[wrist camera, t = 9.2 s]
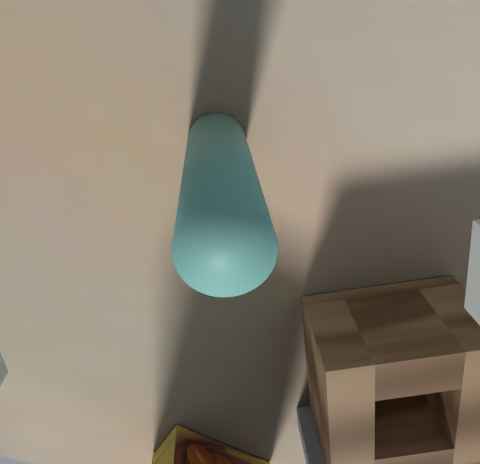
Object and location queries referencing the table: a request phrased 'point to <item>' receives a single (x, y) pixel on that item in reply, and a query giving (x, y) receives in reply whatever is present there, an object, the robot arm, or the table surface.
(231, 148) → the dowel
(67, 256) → the table surface
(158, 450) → the candy box
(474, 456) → the block
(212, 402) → the table surface
